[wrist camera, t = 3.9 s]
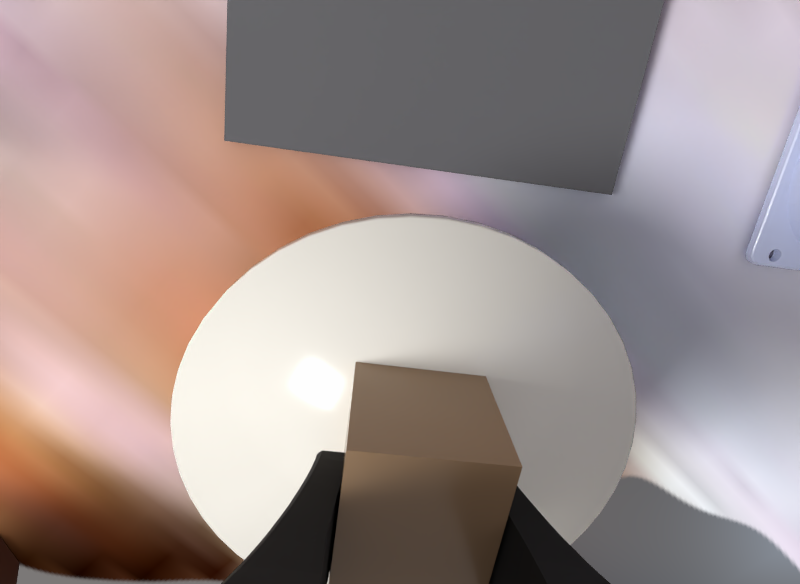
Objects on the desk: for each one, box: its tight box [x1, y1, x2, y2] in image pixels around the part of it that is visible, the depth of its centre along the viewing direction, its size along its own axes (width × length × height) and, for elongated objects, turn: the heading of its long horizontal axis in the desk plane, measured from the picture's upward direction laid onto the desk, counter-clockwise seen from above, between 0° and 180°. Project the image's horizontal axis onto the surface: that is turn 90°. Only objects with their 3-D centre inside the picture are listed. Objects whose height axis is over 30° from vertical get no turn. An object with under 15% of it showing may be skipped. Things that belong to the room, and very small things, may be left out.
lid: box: [170, 213, 636, 584], centre depth 12 cm, size 13×13×4 cm
